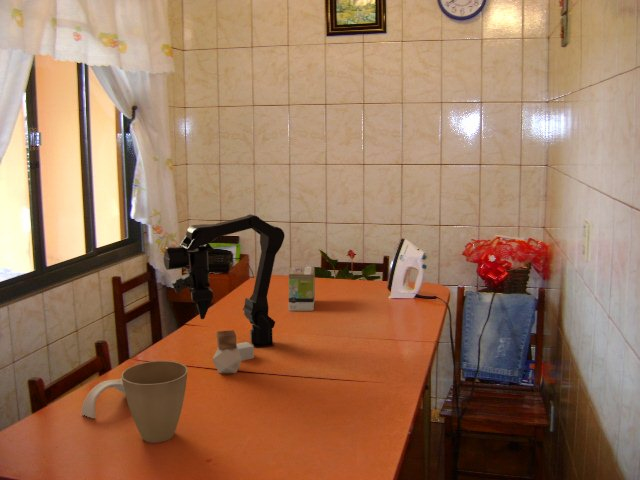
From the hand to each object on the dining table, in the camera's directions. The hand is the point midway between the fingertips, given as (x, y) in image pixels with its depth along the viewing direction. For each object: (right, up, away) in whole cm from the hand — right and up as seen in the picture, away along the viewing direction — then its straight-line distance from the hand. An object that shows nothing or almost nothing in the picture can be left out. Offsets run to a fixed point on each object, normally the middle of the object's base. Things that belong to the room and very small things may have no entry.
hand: (201, 314), depth 217 cm
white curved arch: (-15, -20, -33) cm, 41 cm away
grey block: (+13, -13, 0) cm, 19 cm away
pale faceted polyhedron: (+10, -16, -12) cm, 22 cm away
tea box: (+30, -3, +58) cm, 65 cm away
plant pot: (-1, -23, -54) cm, 58 cm away
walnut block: (+10, -8, -14) cm, 19 cm away
